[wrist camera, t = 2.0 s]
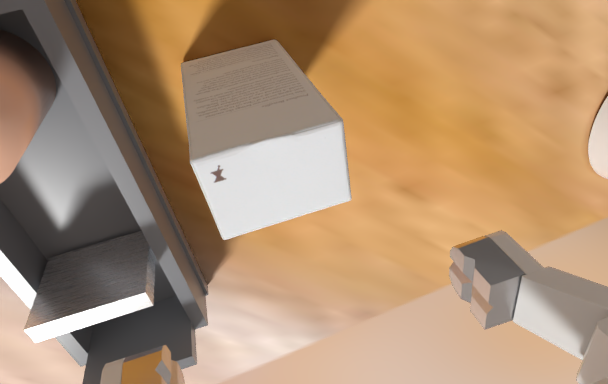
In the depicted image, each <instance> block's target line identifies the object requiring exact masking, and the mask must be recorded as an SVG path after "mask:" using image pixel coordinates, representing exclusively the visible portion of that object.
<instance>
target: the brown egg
mask: <svg viewBox="0 0 608 384" xmlns="http://www.w3.org/2000/svg"><path fill="white" fill-rule="evenodd" d="M55 96H56V82H55V77H54V74H53V72H52V70H51V67H50V66H49V64H48V62H47V61H46V59H45V58H44V57H43V56H42V54H41V53H40V52H39V51H38V50H37V49H36V48H34V47H33V46H32V45H31V44H29V43H28V42H26V41H25V40H23V39H22V38H20V37H18V36H16V35H14V34H12V33H9V32H7V31H3V30H0V184H1V183H2V182H4V181H5V180H6V179H7V178H8V177H9V176H10V175H11V173H12V172H13V171H14V169H15V167H16V165H17V164H18V162H19V160H20V159H21V157H22V155H23V154H24V152H25V150H26V149H27V147H28V145H29V144H30V142H31V140H32V139H33V137H34V135H35V133H36V132H37V130H38V128H39V127H40V125H41V123H42V122H43V120H44V118H45V117H46V115H47V113H48V112H49V110H50V108H51V106H52V105H53V103H54V100H55Z"/></svg>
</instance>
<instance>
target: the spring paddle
mask: <svg viewBox="0 0 608 384" xmlns="http://www.w3.org/2000/svg"><path fill="white" fill-rule="evenodd" d="M155 259H156V256H155V254H154V253H153V251H152V249H151V247H150V245H149V243H148V241H147V240H146V238H145V236H144V234H143V232H142V231H138V232H135V233H131V234H128V235H125V236H121V237H118V238H115V239H111V240H108V241H104V242H101V243H98V244H94V245H91V246H88V247H84V248H81V249H77V250H74V251H71V252H67V253H64V254H60V255H57V256H54V257H50V258H49V259H48V262H47V265H46V268H45V271H44V274H43V276H42V279H41V282H40V285H39V288H38V291H37V294H36V297H35V300H34V302H33V305H32V308H31V311H30V314H29V317H28V320H27V323H26V326H25V328H24V331H25V332H26V333H27V334H28V335H29V336H30V337H31V338H32V339H33V341H34V342H35V343H36V342H40V341H43V340H46V339H49V338H52V337H55V336H59V335H62V334H65V333H68V332H71V331H74V330H78V329H81V328H84V327H87V326H90V325H93V324H97V323H100V322H103V321H106V320H109V319H112V318H116V317H119V316H122V315H125V314H128V313H131V312H135V311H138V310H141V309H144V308H147V307H150V306H153V304H154V281H155Z"/></svg>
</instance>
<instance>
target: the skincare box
mask: <svg viewBox="0 0 608 384" xmlns="http://www.w3.org/2000/svg"><path fill="white" fill-rule="evenodd" d="M181 72H182V82H183V93H184V103H185V113H186V123H187V131H188V139H189V153H190V164H191V166H192V168H193V170H194V173H195V175H196V177H197V180H198V182H199V184H200V187H201V189H202V191H203V194H204V196H205V199H206V201H207V203H208V206H209V208H210V211H211V213H212V215H213V218H214V220H215V223H216V225H217V228H218V230H219V232H220V235H221V237H222V239H224V240H227V239H230V238H233V237H236V236H239V235H242V234H245V233H248V232H252V231H255V230H258V229H261V228H264V227H267V226H271V225H274V224H277V223H280V222H283V221H287V220H290V219H293V218H296V217H299V216H302V215H305V214H309V213H312V212H315V211H318V210H321V209H325V208H328V207H331V206H334V205H337V204H341V203H344V202H348V201H350V200H351V190H350V180H349V170H348V161H347V151H346V142H345V133H344V124H343V119H342V118H341V117H340V116H339V115H338V113H337V112H336V111H335V110H334V109H333V108H332V106H331V105H330V104H329V103H328V102H327V101H326V99H325V98H324V97H323V96H322V95H321V93H320V92H319V91H318V90H317V89H316V87H315V86H314V85H313V84H312V82H311V81H310V80H309V79H308V78H307V76H306V75H305V74H304V73H303V72H302V70H301V69H300V68H299V67H298V65H297V64H296V63H295V62H294V60H293V59H292V58H291V57H290V55H289V54H288V53H287V52H286V51H285V49H284V48H283V47H282V46H281V44H280V43H279V42H278V41H277V40H275V39H273V40H270V41H266V42H262V43H258V44H254V45H250V46H246V47H242V48H238V49H234V50H230V51H226V52H223V53H219V54H215V55H211V56H207V57H203V58H199V59H195V60H191V61H187V62H183V63H181Z"/></svg>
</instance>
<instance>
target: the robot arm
mask: <svg viewBox="0 0 608 384" xmlns="http://www.w3.org/2000/svg"><path fill="white" fill-rule="evenodd" d="M588 155H589V161H590V164H591V166H592V168H593V169H594V171H595V172H596V173H597V174H598V175H600V176H601V177H603V178H606V179H608V96H607V98H606V100H605V101H604V103H603V105H602V106H601V108H600V110H599V112H598V114H597V117H596V119H595V121H594V124H593V127H592V130H591V134H590V138H589V145H588ZM450 257H451V259H452V260H453V261H454V262H453V264H452V265H451V266H450V268H449V276H450V280H451V283H452V286H453V287H454V289H455V291H456V292H457V294H458V295H459V297H460V298H461V299H463V300H465V301H467V302H470V303H471V306H470V311H471V313H472V314H473V315H474V316H475V318H476V319H477V320H478V322H479V323H480V324H481V325H482V327H483V328H484V329H488V328H491V327H494V326H496V325H500V324H503V323H506V322H508V321H512V320H513V322H514V323H516V324H518V325H520V326H522V327H523V328H525V329H527V330H529V331H531V332H532V333H534V334H536V335H538V336H540V337H541V338H543V339H545V340H547V341H548V342H550V343H552V344H554V345H556V346H558V347H559V348H561V349H563V350H565V351H567V352H568V353H570V354H572V355H574V356H576V357H578V358H579V359H581V360H582V363H581V366H580V368H579V370H578V373H577V377H576V381H577V382H578V383H579V384H608V287H607V286H604V285H601V284H598V283H595V282H592V281H589V280H586V279H584V278H581V277H578V276H575V275H572V274H569V273H566V272H564V271H561V270H558V269H555V268H552V267H546V268H544V267H543V266H542V265H541V264H539V263H538V262H537V261H536V260H535V259H534V258H533V257H532V256H531V255H530V254H529V253H528V252H527V251H525V250H524V249H523V248H522V247H521V246H520V245H519V244H518V243H517V242H516V241H515V240H514V239H513V238H511V237H510V236H509V235H508V234H507V233H506V232H504V231H502V230H501V231H498V232H495V233H492V234H489V235H486V236H482V237H479V238H476V239H473V240H471V241H468V242H465V243H462V244H459V245H457V246H454V247H452V249H451V250H450ZM100 384H185V382H184V377H183V373H182V371H181V368H180V366H179V364H178V363H177V362H176V361H173V360H171V351H170V350H169V349H168V347H167V346H166V345H164V346H160V347H157V348H154V349H151V350H147V351H144V352H141V353H138V354H134V355H131V356H128V357H125V358H122V359H119V360H116V361H113V362H110V363H107V364H105V366H104V368H103V370H102V375H101V382H100Z"/></svg>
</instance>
